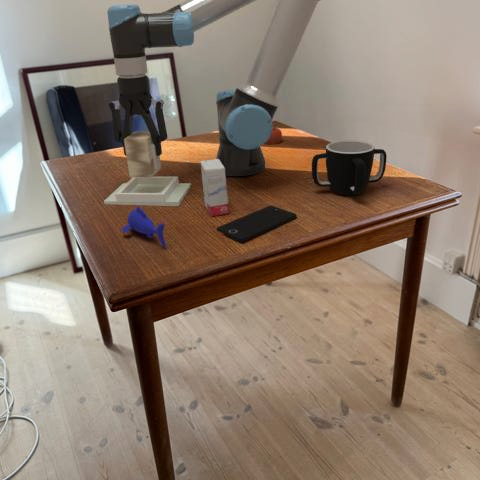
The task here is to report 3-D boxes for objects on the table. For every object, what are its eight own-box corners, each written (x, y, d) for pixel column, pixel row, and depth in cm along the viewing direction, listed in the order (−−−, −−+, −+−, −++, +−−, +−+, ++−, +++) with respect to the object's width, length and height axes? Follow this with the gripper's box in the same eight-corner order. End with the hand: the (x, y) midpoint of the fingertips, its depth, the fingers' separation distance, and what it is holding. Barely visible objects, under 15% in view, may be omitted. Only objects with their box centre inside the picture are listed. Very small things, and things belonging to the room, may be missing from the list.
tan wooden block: (161, 167, 130) (156, 131, 125) (152, 177, 123) (146, 139, 118) (139, 167, 131) (134, 131, 126) (129, 177, 123) (123, 139, 119)
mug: (340, 176, 137) (342, 135, 132) (390, 188, 127) (395, 144, 121) (304, 192, 127) (305, 148, 122) (356, 206, 117) (359, 159, 111)
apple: (261, 144, 172) (261, 122, 169) (282, 144, 171) (282, 122, 168) (260, 150, 166) (259, 127, 162) (281, 150, 165) (281, 127, 161)
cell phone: (215, 231, 109) (215, 227, 108) (270, 208, 119) (270, 204, 119) (241, 243, 103) (241, 239, 102) (297, 217, 113) (297, 214, 113)
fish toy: (117, 233, 110) (112, 205, 107) (145, 223, 114) (142, 196, 111) (152, 254, 99) (147, 224, 96) (181, 242, 104) (178, 214, 101)
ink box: (229, 214, 116) (226, 167, 111) (209, 217, 115) (205, 170, 110) (222, 202, 124) (219, 157, 119) (203, 204, 123) (199, 160, 118)
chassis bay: (191, 188, 134) (190, 176, 133) (178, 207, 122) (177, 194, 120) (123, 188, 137) (122, 176, 136) (104, 206, 125) (102, 194, 123)
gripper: (174, 72, 118) (183, 163, 128) (101, 74, 120) (116, 163, 131) (165, 76, 111) (176, 172, 121) (89, 79, 114) (105, 171, 124)
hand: (145, 167), depth 126 cm, fingers closed on tan wooden block, 6 cm apart
